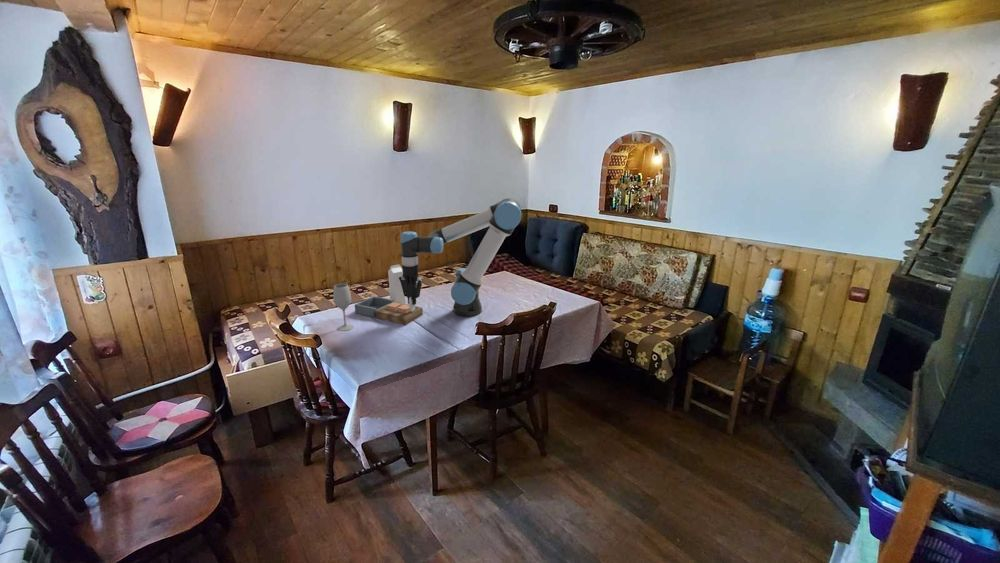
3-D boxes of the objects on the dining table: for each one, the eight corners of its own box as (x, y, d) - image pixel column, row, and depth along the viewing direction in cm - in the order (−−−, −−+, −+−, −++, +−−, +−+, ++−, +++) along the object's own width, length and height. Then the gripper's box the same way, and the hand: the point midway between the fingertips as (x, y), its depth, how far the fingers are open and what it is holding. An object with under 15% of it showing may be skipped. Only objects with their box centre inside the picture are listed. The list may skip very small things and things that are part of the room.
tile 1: (401, 307, 200) (401, 303, 199) (395, 310, 195) (395, 307, 195) (393, 305, 201) (393, 302, 201) (387, 309, 197) (387, 305, 196)
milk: (405, 304, 215) (403, 265, 208) (395, 306, 211) (393, 267, 204) (400, 300, 219) (397, 262, 212) (390, 303, 215) (387, 264, 208)
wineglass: (338, 332, 180) (332, 289, 174) (336, 325, 187) (331, 284, 180) (355, 329, 184) (350, 287, 177) (353, 323, 190) (348, 282, 183)
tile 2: (412, 309, 197) (412, 306, 196) (406, 313, 193) (405, 309, 192) (404, 308, 199) (403, 304, 198) (397, 311, 195) (397, 307, 194)
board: (422, 314, 201) (422, 307, 200) (406, 325, 189) (405, 317, 188) (394, 308, 208) (393, 301, 207) (376, 318, 196) (375, 311, 194)
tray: (393, 308, 208) (393, 299, 206) (375, 318, 196) (374, 309, 194) (374, 304, 213) (373, 296, 211) (355, 313, 201) (354, 304, 199)
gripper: (426, 264, 187) (427, 310, 195) (403, 260, 192) (406, 305, 199) (417, 268, 181) (419, 315, 188) (393, 264, 185) (396, 310, 193)
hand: (412, 310), depth 194 cm, fingers closed
